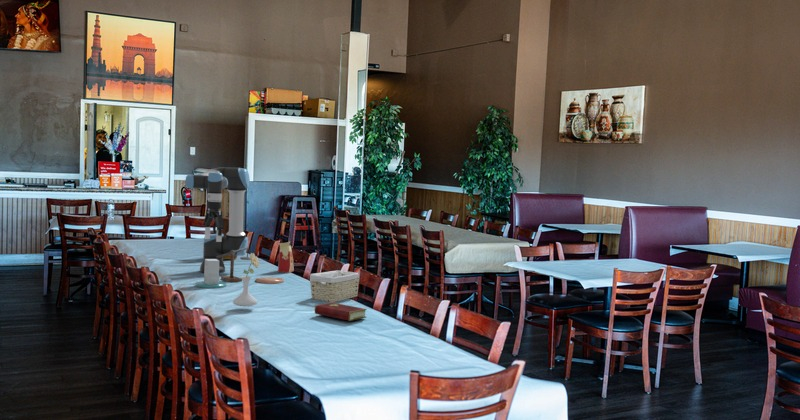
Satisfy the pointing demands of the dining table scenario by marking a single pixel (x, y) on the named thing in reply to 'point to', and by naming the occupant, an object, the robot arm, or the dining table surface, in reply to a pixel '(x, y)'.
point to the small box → (211, 272)
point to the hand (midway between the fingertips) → (213, 240)
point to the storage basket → (334, 285)
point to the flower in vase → (245, 296)
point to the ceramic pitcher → (224, 231)
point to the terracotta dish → (269, 280)
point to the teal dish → (204, 285)
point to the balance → (231, 277)
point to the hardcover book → (340, 311)
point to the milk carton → (285, 258)
